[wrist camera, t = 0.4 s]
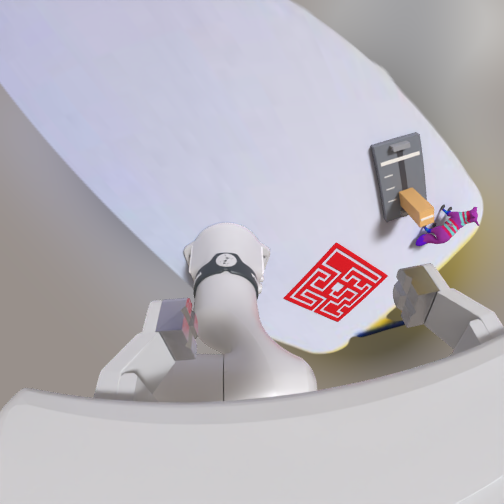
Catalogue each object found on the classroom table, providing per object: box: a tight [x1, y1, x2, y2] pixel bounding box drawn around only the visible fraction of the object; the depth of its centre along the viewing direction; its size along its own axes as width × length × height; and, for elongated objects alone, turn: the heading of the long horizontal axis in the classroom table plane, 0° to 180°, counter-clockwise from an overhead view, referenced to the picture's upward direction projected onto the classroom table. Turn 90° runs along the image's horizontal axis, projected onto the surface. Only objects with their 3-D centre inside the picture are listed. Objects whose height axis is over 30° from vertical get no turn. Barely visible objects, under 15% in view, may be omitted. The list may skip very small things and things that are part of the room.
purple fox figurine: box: [416, 205, 479, 246], centre depth 58 cm, size 4×18×10 cm, turn 142°
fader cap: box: [399, 187, 434, 227], centre depth 53 cm, size 4×4×9 cm
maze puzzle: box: [284, 243, 387, 322], centre depth 74 cm, size 20×20×1 cm
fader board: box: [371, 132, 427, 222], centre depth 55 cm, size 18×11×3 cm, turn 22°
